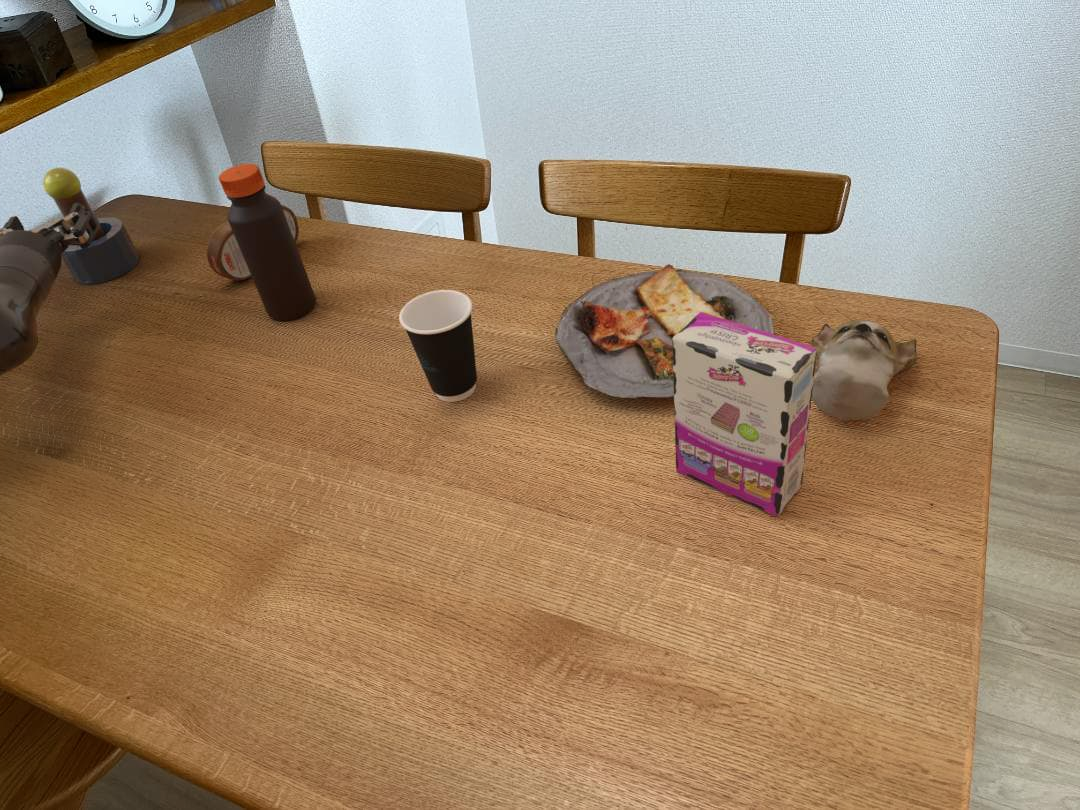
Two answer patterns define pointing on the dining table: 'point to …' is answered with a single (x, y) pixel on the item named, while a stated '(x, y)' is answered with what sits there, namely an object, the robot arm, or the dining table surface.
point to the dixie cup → (443, 341)
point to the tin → (236, 249)
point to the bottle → (267, 244)
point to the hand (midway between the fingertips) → (49, 215)
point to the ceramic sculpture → (857, 368)
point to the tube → (102, 255)
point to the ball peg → (68, 193)
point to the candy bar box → (742, 409)
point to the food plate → (646, 327)
